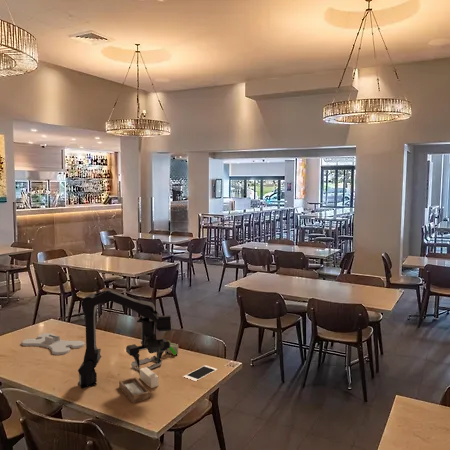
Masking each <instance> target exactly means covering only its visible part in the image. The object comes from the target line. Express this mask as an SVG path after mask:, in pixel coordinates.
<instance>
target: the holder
mask: <svg viewBox="0 0 450 450" xmlns="http://www.w3.org/2000/svg"><path fill="white" fill-rule="evenodd" d="M36 337H37V338H34V337H33V338H26V339H24V340H23V339H22V340H21V346H22V345H23V347H41V348H45V349H46V348H47V349H48V348H49V349H48V350H50V351H51V355H54V356H61V355H66V354H69V353H70V352H71V349H72V350H74V349H75V350H76V348H77V349H80V348H84V347H85V346H86V342H85V341H83V340H66V339H65V340H63V339H61V337H60V336H59V335H55V334H54V333H52V332H47V333H45V332H44V333H40V334H39V335H37V336H36ZM84 345H85V346H84ZM70 347H71V348H70Z"/></svg>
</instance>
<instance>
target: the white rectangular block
mask: <svg viewBox="0 0 450 450" xmlns="http://www.w3.org/2000/svg"><path fill="white" fill-rule="evenodd" d="M139 369H140V371H139V380H141V381H143V382H144V384H146V385H147V386H149V388H151V389H153V388H156V387H159V385H160V384H159V382H160V381H159V376H158V375H157V374H156V373H155V372H154V371H152V369H149V368H147V366H145V367H142V368H141V367H140V368H139Z"/></svg>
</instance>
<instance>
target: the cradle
mask: <svg viewBox="0 0 450 450" xmlns="http://www.w3.org/2000/svg"><path fill="white" fill-rule="evenodd" d="M118 383H119V385H118V386H119V388H120V389H121V391H122V392H123V393H124V395H125V396H126V397H127V398H128V399H129V401H130V402H131V403H137V402H140V401H145V400H149V399H150V398H151V391H150V390H149V389H148V388H147V386H146V385H144V384H143V383H142V382H141V380H140V379H138V378H137V376H134V377H131V378H126V379H122V380H121V379H120V380H118Z"/></svg>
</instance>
